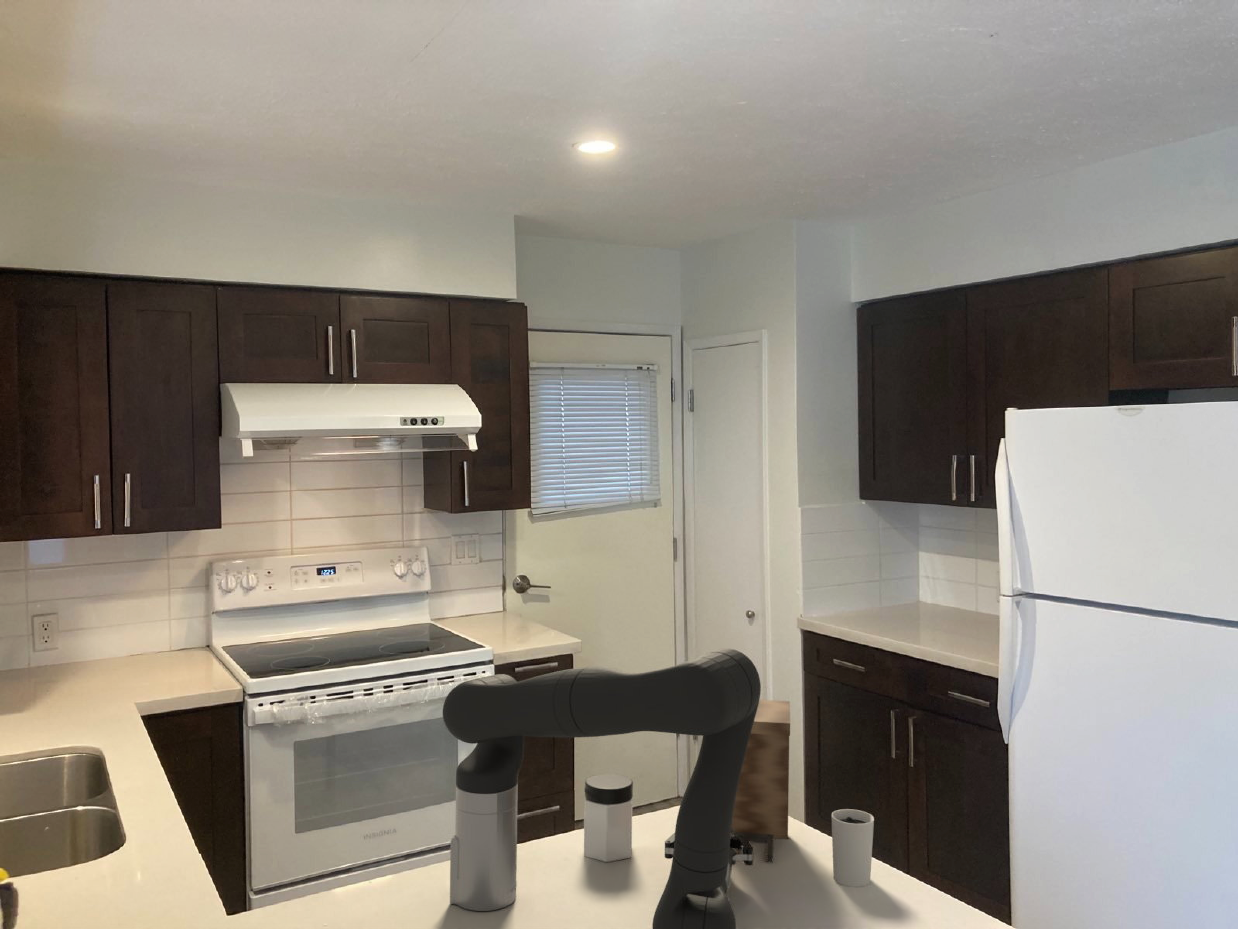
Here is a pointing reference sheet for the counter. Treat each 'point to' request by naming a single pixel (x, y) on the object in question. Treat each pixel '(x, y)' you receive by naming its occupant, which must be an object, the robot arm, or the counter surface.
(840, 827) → the white cup
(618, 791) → the jar
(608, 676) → the robot arm
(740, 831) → the shelf
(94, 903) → the counter surface
